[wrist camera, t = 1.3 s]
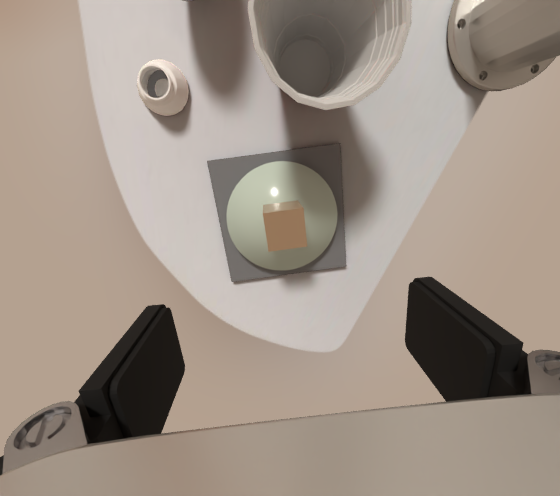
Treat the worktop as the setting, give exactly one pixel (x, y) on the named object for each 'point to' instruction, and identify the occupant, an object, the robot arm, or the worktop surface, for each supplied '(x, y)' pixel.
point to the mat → (234, 169)
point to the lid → (281, 215)
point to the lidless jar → (163, 88)
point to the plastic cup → (329, 46)
